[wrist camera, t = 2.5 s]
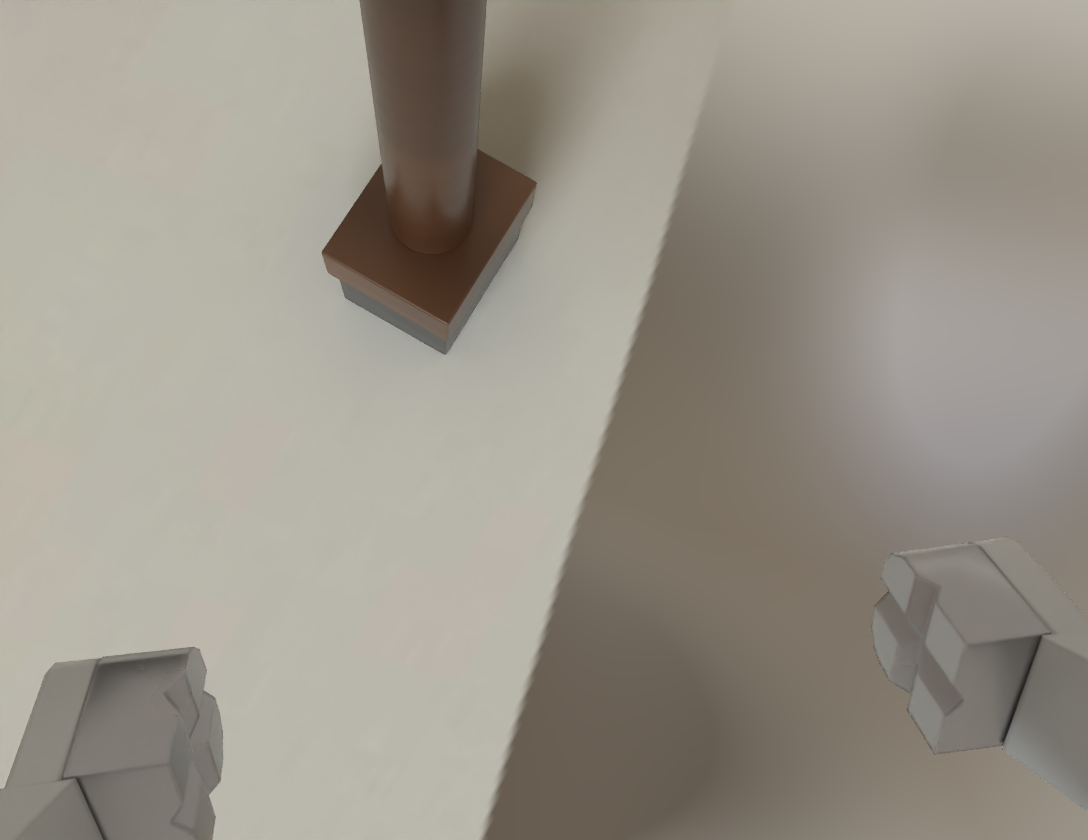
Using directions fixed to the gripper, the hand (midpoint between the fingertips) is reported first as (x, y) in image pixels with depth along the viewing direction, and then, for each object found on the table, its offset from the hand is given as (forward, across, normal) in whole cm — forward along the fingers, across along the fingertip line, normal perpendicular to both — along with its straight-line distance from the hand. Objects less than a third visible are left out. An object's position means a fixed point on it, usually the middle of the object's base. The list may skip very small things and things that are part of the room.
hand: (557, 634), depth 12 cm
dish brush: (+22, 0, +5) cm, 22 cm away
